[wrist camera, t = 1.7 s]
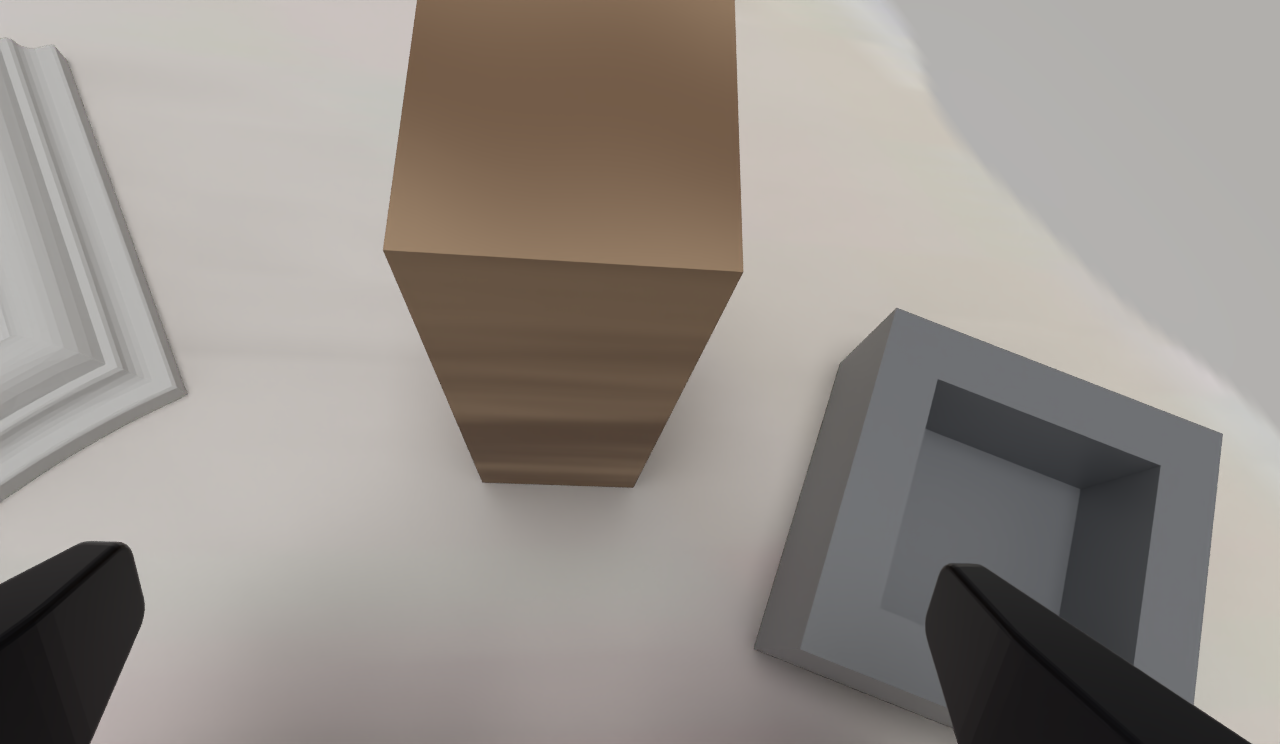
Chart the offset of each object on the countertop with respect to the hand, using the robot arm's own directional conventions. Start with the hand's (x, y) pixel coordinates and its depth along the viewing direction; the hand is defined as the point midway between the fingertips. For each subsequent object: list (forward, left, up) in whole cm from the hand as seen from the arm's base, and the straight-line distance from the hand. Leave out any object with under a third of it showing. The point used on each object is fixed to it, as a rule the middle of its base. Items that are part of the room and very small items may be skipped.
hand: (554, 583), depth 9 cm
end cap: (-1, -11, -12) cm, 16 cm away
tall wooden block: (+5, -2, -12) cm, 13 cm away
